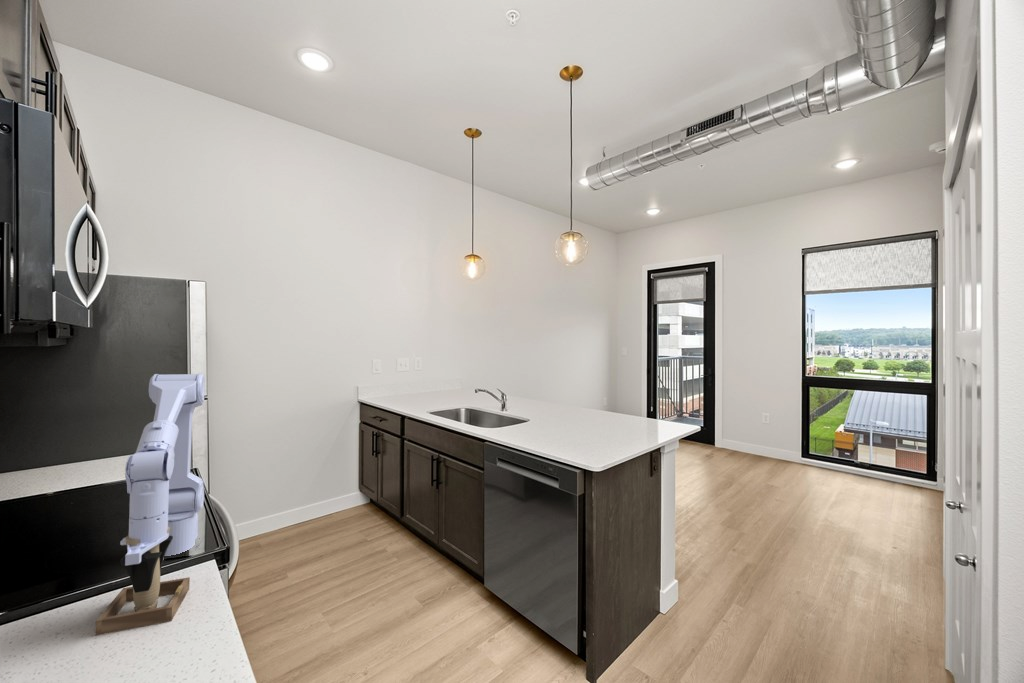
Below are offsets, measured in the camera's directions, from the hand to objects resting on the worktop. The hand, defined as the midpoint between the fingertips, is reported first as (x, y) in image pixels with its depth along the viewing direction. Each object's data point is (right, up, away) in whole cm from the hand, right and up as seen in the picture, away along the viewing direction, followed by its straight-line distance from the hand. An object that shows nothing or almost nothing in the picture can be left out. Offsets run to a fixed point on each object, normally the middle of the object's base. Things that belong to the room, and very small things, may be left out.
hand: (147, 584), depth 81 cm
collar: (0, -5, 0) cm, 5 cm away
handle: (0, -5, 0) cm, 5 cm away
